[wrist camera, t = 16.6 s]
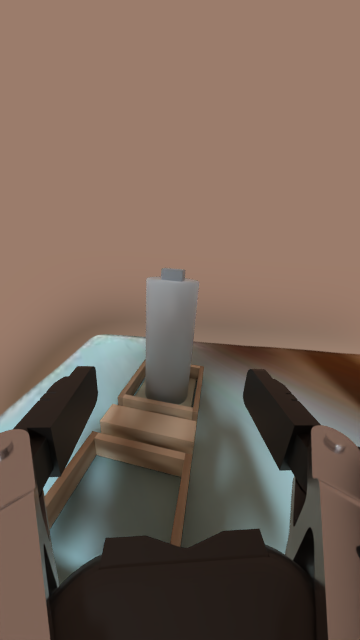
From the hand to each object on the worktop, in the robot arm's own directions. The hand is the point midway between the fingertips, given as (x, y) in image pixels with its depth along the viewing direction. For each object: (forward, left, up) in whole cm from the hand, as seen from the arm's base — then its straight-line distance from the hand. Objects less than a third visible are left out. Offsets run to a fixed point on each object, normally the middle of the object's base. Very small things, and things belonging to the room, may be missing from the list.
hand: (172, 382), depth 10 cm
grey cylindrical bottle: (+3, -10, -9) cm, 13 cm away
